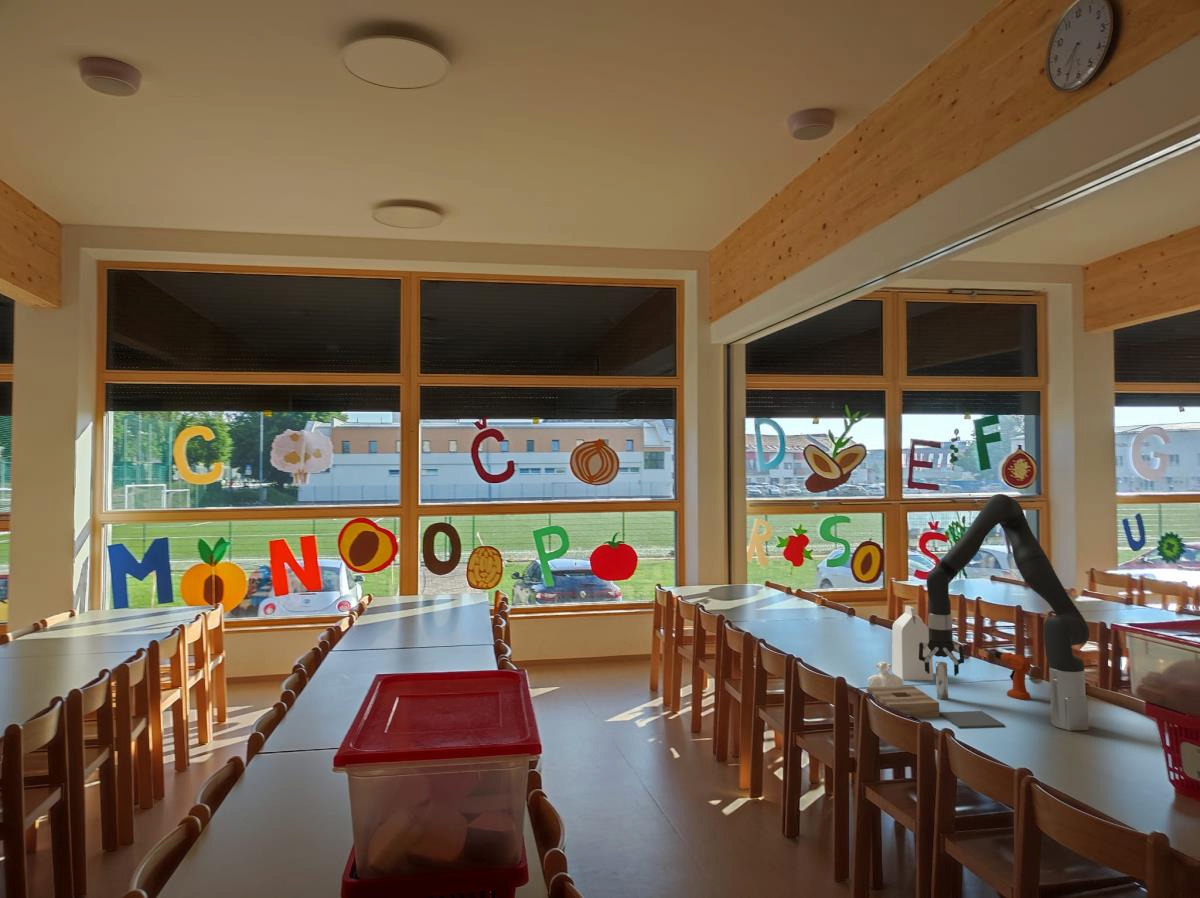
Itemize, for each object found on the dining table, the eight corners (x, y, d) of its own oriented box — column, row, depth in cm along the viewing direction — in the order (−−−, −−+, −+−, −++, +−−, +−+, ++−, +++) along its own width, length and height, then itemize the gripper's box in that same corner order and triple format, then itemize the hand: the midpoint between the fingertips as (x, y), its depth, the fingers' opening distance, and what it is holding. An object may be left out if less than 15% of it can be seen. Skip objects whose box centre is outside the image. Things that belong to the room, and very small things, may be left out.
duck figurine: (902, 698, 278) (896, 667, 285) (906, 689, 272) (900, 658, 280) (867, 697, 280) (862, 667, 287) (871, 689, 274) (865, 658, 281)
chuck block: (939, 717, 249) (939, 702, 249) (889, 718, 249) (888, 704, 249) (913, 699, 269) (913, 685, 269) (866, 700, 269) (866, 687, 269)
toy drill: (987, 681, 283) (990, 640, 282) (1033, 701, 266) (1036, 658, 265) (977, 683, 281) (980, 642, 280) (1022, 703, 264) (1026, 659, 263)
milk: (891, 672, 305) (889, 604, 306) (922, 671, 305) (919, 604, 306) (902, 680, 293) (899, 609, 294) (933, 679, 293) (931, 609, 294)
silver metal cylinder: (950, 699, 267) (948, 663, 268) (939, 699, 267) (938, 664, 268) (945, 696, 271) (944, 661, 271) (935, 696, 271) (933, 661, 271)
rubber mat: (1004, 726, 238) (1004, 724, 238) (959, 728, 238) (958, 726, 238) (981, 712, 252) (981, 710, 252) (938, 714, 252) (938, 712, 252)
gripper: (963, 625, 271) (964, 673, 270) (918, 623, 277) (919, 669, 276) (963, 630, 264) (964, 678, 263) (917, 627, 270) (918, 675, 269)
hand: (941, 674), depth 270 cm, fingers open, 8 cm apart
